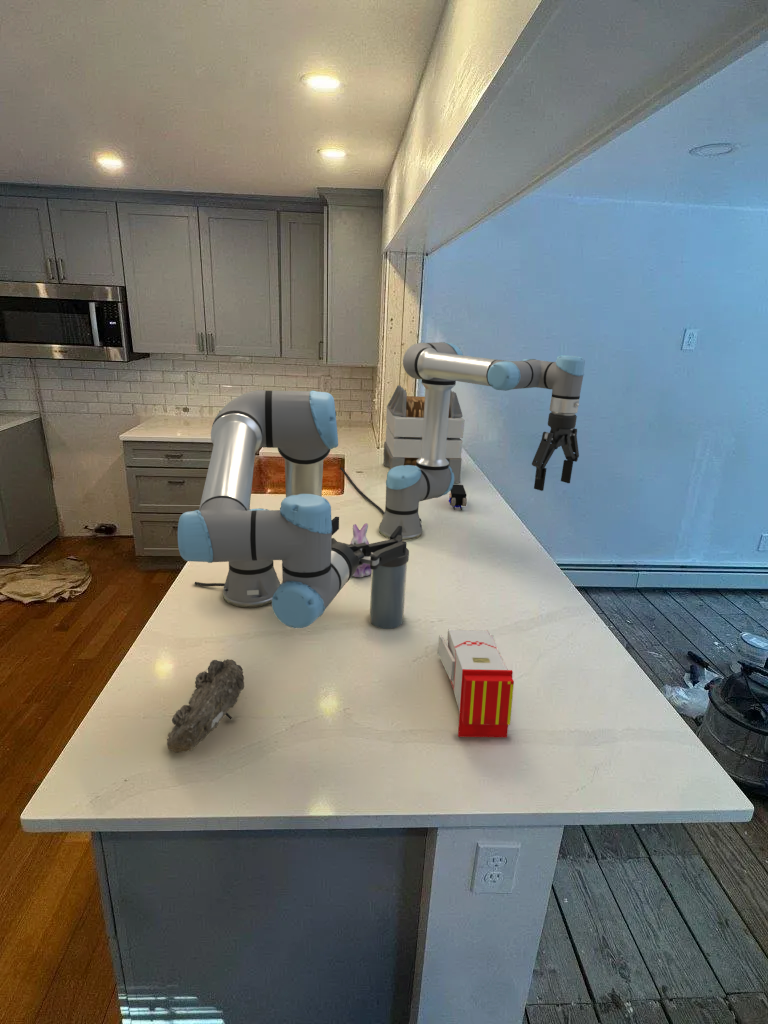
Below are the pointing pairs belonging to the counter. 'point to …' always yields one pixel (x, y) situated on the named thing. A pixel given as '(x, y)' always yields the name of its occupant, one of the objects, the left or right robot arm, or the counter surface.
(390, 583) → the jar
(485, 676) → the toy
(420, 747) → the counter surface
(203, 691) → the fossil
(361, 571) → the figurine
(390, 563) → the lid
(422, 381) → the right robot arm
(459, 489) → the figurine character
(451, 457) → the white slatted crate
